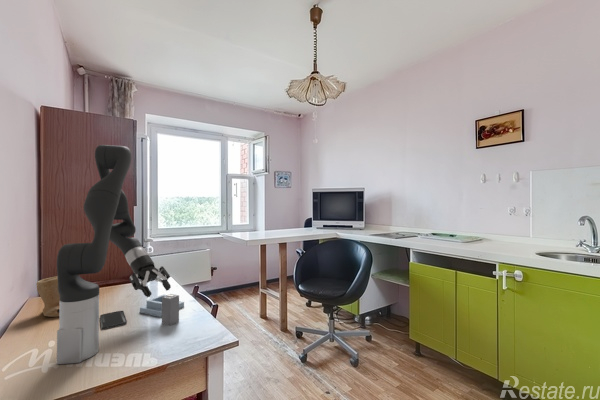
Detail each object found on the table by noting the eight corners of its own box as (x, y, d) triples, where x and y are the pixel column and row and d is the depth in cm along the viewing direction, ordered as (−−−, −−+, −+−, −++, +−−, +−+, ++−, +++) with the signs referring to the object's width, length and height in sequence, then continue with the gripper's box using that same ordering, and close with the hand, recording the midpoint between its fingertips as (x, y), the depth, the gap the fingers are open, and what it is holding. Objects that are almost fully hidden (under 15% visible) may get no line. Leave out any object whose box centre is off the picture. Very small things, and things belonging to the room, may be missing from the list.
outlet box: (184, 306, 119) (184, 296, 119) (160, 317, 108) (160, 305, 108) (164, 302, 123) (164, 292, 123) (139, 312, 112) (139, 301, 112)
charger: (178, 321, 103) (179, 294, 104) (170, 325, 100) (170, 297, 100) (170, 319, 105) (170, 293, 105) (161, 323, 102) (161, 296, 102)
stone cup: (36, 311, 114) (37, 275, 114) (73, 304, 122) (73, 271, 122) (35, 322, 103) (35, 283, 103) (75, 314, 111) (76, 277, 111)
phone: (123, 310, 113) (127, 322, 101) (123, 312, 113) (127, 325, 101) (99, 314, 108) (101, 328, 96) (99, 317, 108) (101, 331, 96)
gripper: (126, 257, 102) (147, 291, 97) (159, 251, 115) (179, 281, 111) (117, 270, 104) (137, 304, 99) (150, 263, 117) (169, 292, 113)
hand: (159, 292), depth 105 cm, fingers open, 8 cm apart
